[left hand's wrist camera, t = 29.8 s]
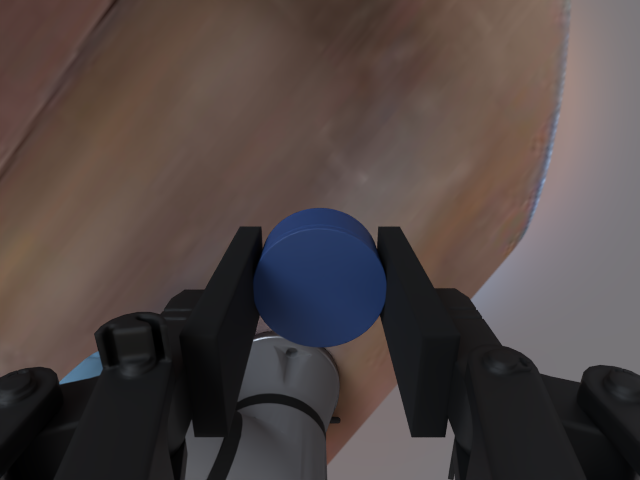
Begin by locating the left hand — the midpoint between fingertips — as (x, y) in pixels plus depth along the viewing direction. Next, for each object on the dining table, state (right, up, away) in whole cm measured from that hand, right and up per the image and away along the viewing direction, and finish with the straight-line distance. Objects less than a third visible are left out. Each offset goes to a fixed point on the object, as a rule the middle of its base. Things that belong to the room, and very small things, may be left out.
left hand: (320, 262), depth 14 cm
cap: (0, -1, -2) cm, 2 cm away
